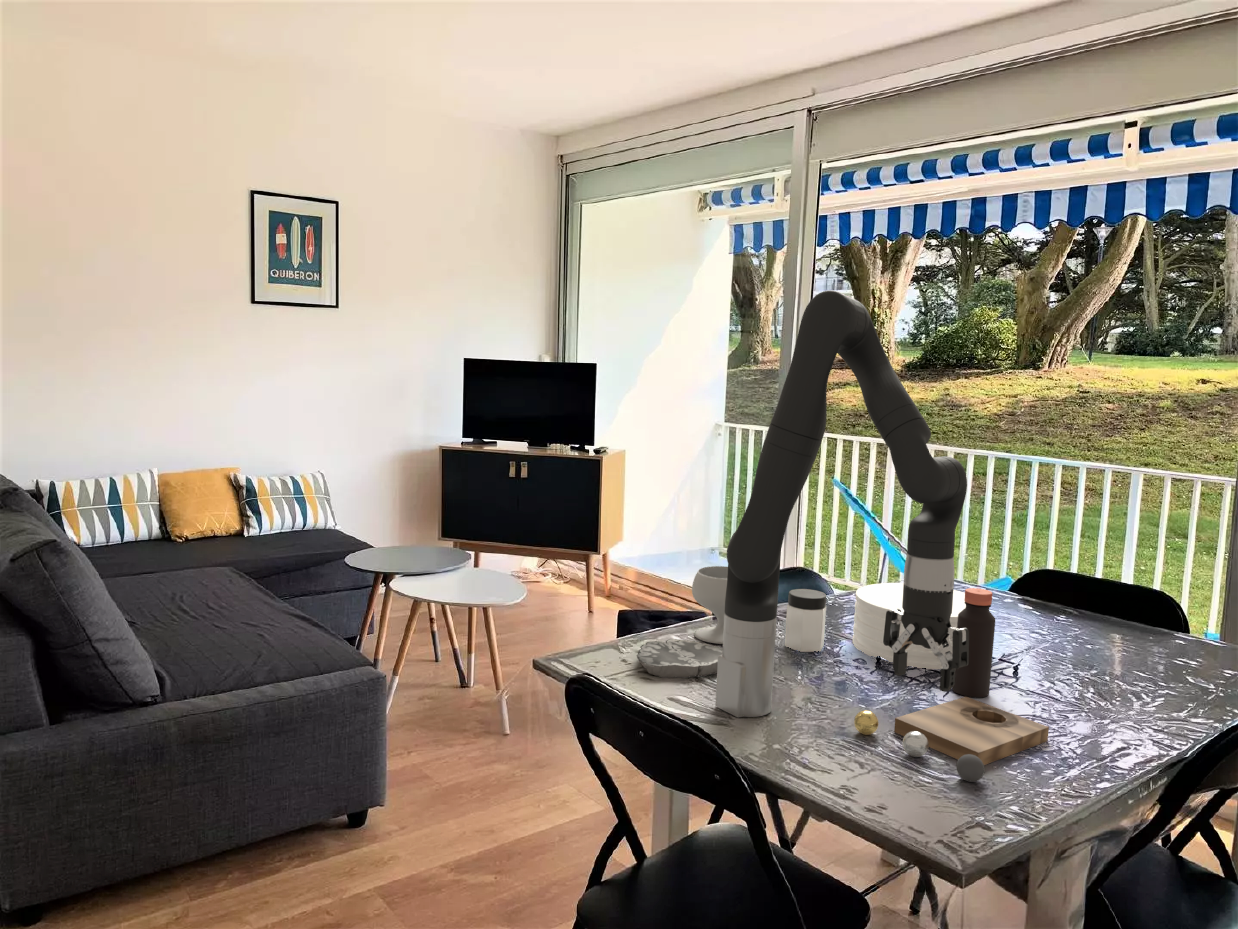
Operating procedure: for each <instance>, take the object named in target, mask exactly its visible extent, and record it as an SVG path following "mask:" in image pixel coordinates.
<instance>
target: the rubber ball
mask: <svg viewBox="0 0 1238 929" xmlns="http://www.w3.org/2000/svg"><path fill="white" fill-rule="evenodd" d="M956 772H957V774H958V776H959V777H960V779H963V781H966V782H968V783H975V782H978V781H980V780H981V779H982V778H983V776H984V774H985V765H984V764H983V762H982V761H981V760H980V759H979V758H978V757H977V756H975V755H972V754H966V755H963V756H962V757H960V758H959V760H958V759H957V761H956Z"/></svg>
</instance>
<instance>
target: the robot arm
mask: <svg viewBox="0 0 1238 929" xmlns="http://www.w3.org/2000/svg"><path fill="white" fill-rule="evenodd" d="M795 340H796V341H795V346H794V349H793V350H794V351H793V355H792V357H791V362H790V365H789V369H788V372H787V375H786V378H785V380H784V384H783V387H782V389H781V392H780V396H779V399H778V402H777V405H776V408H775V410H774V414H773V416H772V418H771V420H770V424H769V426H768V429H767V431H766V435H765V438H764V441H763V444H762V447H761V452H760V455H759V458H758V463H757V465H756V466H757V467H756V471H755V476H754V481H753V486H752V490H751V496H750V498H749V501H748V504H747V506H746V508H745V511H744V514H743V516H742V517H741V521H740V522H739V525H738V527H737V529H736V530H735V531H734V532H733V533H732V535H731V538H730V540H729V542H728V544H727V547H726V548H727V549H726V561H727V567H728V575H727V587H726V597H725V613H724V631H723V644H722V649H723V650H722V655H719V656H718V665H717V673H716V687H715V688H716V689H715V704H714V705H715V707H716V708H718V709H720V710H722V711H724V712H726V713H728V714H730V715H732V716H734V717H736V718H742V717H744V718H745V717H748V718H749V717H751V718H752V717H753V718H755V717H762V716H765V715H768V714H769V713H771V712H772V704H773V703H772V701H773V700H772V699H773V683H774V667H775V665H774V664H775V650H776V649H775V648H776V633H777V632H776V631H777V616H778V604H779V583H780V572H781V571H780V569H781V568H780V567H781V554H782V552H781V551H782V547H783V543H784V538H785V536H786V535H785V534H786V530H787V527H788V522H789V520H790V517H791V514H792V511H793V509H794V507H795V504H796V502H797V500H798V498H799V496H800V494H801V493H802V490H803V489H804V486H805V485H806V482H807V480H808V477H809V476H810V473H811V470H812V468H813V465H814V464H815V461H816V459H817V457H818V454H819V450H820V447H821V445H822V442H823V438H824V435H825V432H826V426H827V419H828V418H827V416H828V415H827V414H828V409H827V404H828V403H827V396H828V395H827V392H828V391H827V388H828V382H829V378H830V374H831V370H832V367H833V364H834V363H835V359H836V356H837V354H838V355H839V357H840V358H842V360H843V362H845V364H846V365H847V366H848V367H849V369H850V371H852V373H853V374H854V376H855V379H856V381H857V382H858V384H859V388H860V391H861V393H862V397H863V401H864V405H865V408H866V411H867V413H868V416H869V417H870V419H871V421H872V423H873V424H874V427H875V428H876V430H877V432H878V433H879V435H880V437H881V438H882V440H883V442H884V443H885V444H886V446H887V447H888V449H889V453H890V456H891V461H892V463H893V466H894V470H895V473H896V477H897V480H898V483H899V484H900V487H901V488H902V490H903V491H904V492H905V493H906V495H907V496H908V497H909V498H910V499H911V500H913V501H914V502H916V503H919V504H922V507H921V511H920V513H919V514H918V515H917V516H915V517H914V518H912V519H911V520H910V522H909V524H908V528H907V529H908V530H907V546H906V547H907V548H906V558H905V562H904V567H903V568H904V572H903V583H904V584H903V601H902V608H903V610H904V613H902V612H901V610H900V609H894V610H889V611H887V612H886V619H885V628H884V638H883V643H884V645H885V646H889V647H891V648H892V651H893V663H892V670H893V671H894V675H896V676H898V677H900V676H903V675H906V674H907V670H908V669H907V668H908V666H907V653H908V652H906V651H905V650H906V649H907V648H908V647H909V646H910V645H911V644H912V643H913V644H915V645H922V646H923V647H925V648H928V649H932V651H933V653H934V655H935V656H937V657H938V659H939V661H940V663H941V665H942V667H943V668H941V670H940V675H939V691H941V692H943V693H946V692H949V691H950V692H951V690H953V689H952V688H953V687H954V685H955V670H956V669H958V668H960V667H964V666H967V665H968V664H969V630H968V629H967V628H960V629H959V628H954V627H952V626H951V624H950V616H951V614H952V606H953V590H955V589H954V588H955V587H954V585H955V563H954V562H955V561H954V560H955V541H956V539H955V538H956V530H957V529H956V528H957V526H958V523H959V520H960V517H961V515H962V514H961V513H962V511H963V506H964V503H965V501H966V496H967V490H968V478H967V473H966V470H965V468H964V466H963V465H962V463H961V461H959V460H957V459H956V458H954V457H952V456H947V455H946V456H945V455H943V456H935V457H934V456H932V455H931V453H930V450H929V449H928V445H927V443H928V442H929V441H930V439H931V436H932V432H931V429H930V427H929V425H928V423H927V421H926V419H925V418H924V417H923V415H922V413H921V411H920V410H919V408H918V407H917V406H916V404H915V402H914V400H913V399H912V397H911V396H910V394H909V392H908V391H907V390H906V388H905V386H904V384H903V383H902V382H901V380H900V377H899V376H898V375H897V373H896V370H894V367H893V365H892V364H891V362H890V359H889V358H888V356H887V353H886V352H885V349H884V347H883V345H882V343H881V341H880V340H881V339H880V338H879V336H878V332H877V331H876V328H875V325H874V322H873V321H872V318H871V316H870V313H869V311H868V309H867V307H865V304H863V303H861V302H860V301H859V300H857V299H856V298H852V297H851V296H849V295H846V294H844V293H842V292H840V291H837V290H831V289H829V290H824V291H821V292H818V294H816V295H815V296H814V297H813V298H812V299H811V300H810V301H809V303H807V305H806V307H805V309H804V312H803V313H802V317H801V319H800V323H799V328H798V332H797V337H796V339H795ZM901 623H902V624H903V626H904V628H905V631H904V632H903V633H902V634H901V635H900V636H899V631H900V624H901ZM949 635H950V636H951V638H950V640H951V641H953V647H952V645H951V643H950V641H949V639H948V636H949ZM941 644H942V646H943V648H940V647H939V646H940V645H941Z"/></svg>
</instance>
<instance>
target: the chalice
mask: <svg viewBox="0 0 1238 929" xmlns="http://www.w3.org/2000/svg"><path fill="white" fill-rule="evenodd" d="M727 575H728V566H721V565H718V566H716V565H715V566H705V567H701V568H699V569H698V570H697V572H696V573H695V575H694V578H693V581H692V586H691V594H692V597H693V599H694V600H695V602H696V603H698V605H700V606H702V607H703V608H705V609H706V610H708V611H709V612H711V613H712V614H713V615H714V616H715V618H716V619H717V620H716V621H717V623H716V626H707V627H702V628H698V629H696V630H695V631H694V633H693V636H694V637H695V638H696V639H698V640H700V641H704V642H706V643H710V644H711V643H712V644H717V645H718V644H719V645H723V631H724V613H725V597H726V587H727Z"/></svg>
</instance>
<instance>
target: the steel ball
mask: <svg viewBox="0 0 1238 929" xmlns="http://www.w3.org/2000/svg"><path fill="white" fill-rule="evenodd" d="M902 748H903V750H904V751H905V753H906V754H908V755H909V756H911V757H913V758H919V757H923V756H924V755H926V753H927V752H928V751H929V748H930V747H929V743H928V740H927V738H926V737H925V735H923V734H922V733H920V732H918V731H911V732H909V733H907V734H906V735H905V736H903V739H902Z"/></svg>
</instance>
